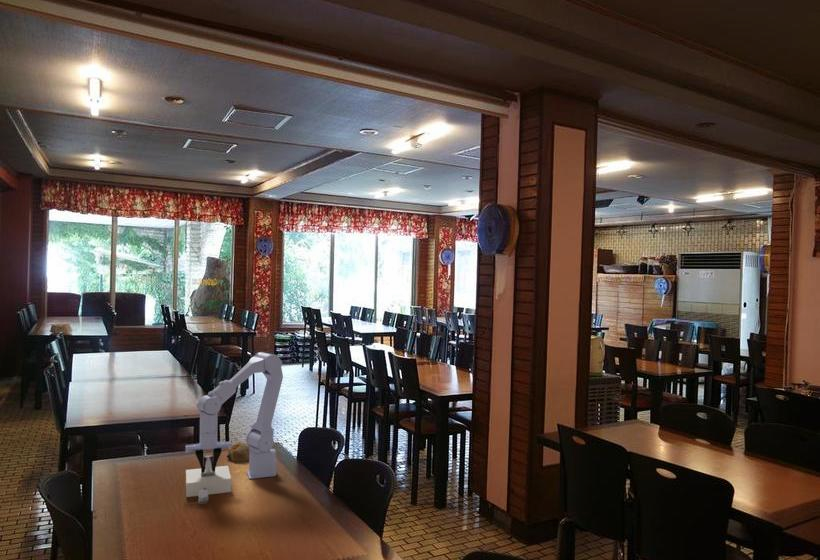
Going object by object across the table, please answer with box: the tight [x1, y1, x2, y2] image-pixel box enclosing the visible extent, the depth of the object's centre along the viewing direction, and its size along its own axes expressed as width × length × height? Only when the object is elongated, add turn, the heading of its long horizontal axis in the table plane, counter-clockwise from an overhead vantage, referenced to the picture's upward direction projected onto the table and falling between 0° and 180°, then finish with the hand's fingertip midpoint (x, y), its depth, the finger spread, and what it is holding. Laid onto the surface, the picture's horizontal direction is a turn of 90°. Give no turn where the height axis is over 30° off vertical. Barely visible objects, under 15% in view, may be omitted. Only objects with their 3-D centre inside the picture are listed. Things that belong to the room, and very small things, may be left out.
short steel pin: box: [197, 488, 209, 505], centre depth 186 cm, size 3×3×4 cm
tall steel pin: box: [203, 455, 213, 477], centre depth 199 cm, size 3×3×8 cm
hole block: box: [185, 465, 232, 498], centre depth 199 cm, size 14×14×4 cm
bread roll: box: [226, 441, 249, 462], centre depth 231 cm, size 10×10×8 cm
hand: (208, 471), depth 199 cm, fingers closed on tall steel pin, 3 cm apart
